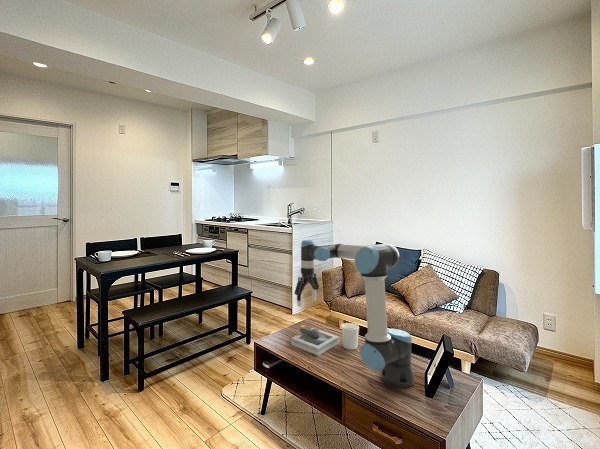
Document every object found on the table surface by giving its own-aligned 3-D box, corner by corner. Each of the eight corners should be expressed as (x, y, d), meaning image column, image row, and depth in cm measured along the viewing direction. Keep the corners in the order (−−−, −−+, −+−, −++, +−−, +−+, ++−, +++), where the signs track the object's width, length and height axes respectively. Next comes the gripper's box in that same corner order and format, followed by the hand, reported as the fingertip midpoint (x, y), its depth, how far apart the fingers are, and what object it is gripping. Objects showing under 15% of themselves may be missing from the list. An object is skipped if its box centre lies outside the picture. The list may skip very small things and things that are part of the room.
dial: (330, 339, 188) (330, 329, 187) (317, 347, 178) (317, 336, 177) (308, 331, 199) (308, 322, 199) (294, 338, 189) (294, 328, 189)
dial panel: (339, 343, 188) (339, 336, 188) (318, 355, 173) (318, 348, 173) (312, 333, 201) (312, 327, 201) (291, 344, 186) (291, 337, 186)
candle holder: (340, 348, 181) (340, 328, 180) (343, 341, 191) (343, 322, 190) (357, 351, 178) (357, 330, 177) (359, 343, 187) (360, 324, 187)
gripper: (315, 262, 195) (314, 296, 197) (288, 269, 176) (287, 307, 177) (325, 264, 190) (324, 299, 192) (298, 272, 171) (298, 310, 173)
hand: (307, 303), depth 185 cm, fingers open, 13 cm apart
